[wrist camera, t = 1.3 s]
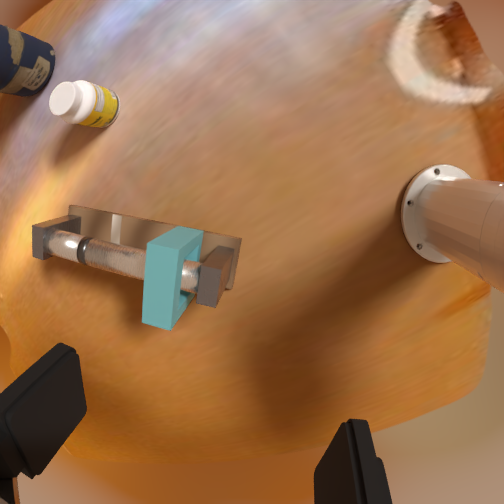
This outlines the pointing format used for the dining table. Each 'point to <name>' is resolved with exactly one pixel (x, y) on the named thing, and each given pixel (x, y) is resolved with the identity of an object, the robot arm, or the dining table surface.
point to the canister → (23, 62)
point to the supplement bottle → (84, 104)
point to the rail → (129, 258)
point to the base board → (145, 233)
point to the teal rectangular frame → (168, 275)
